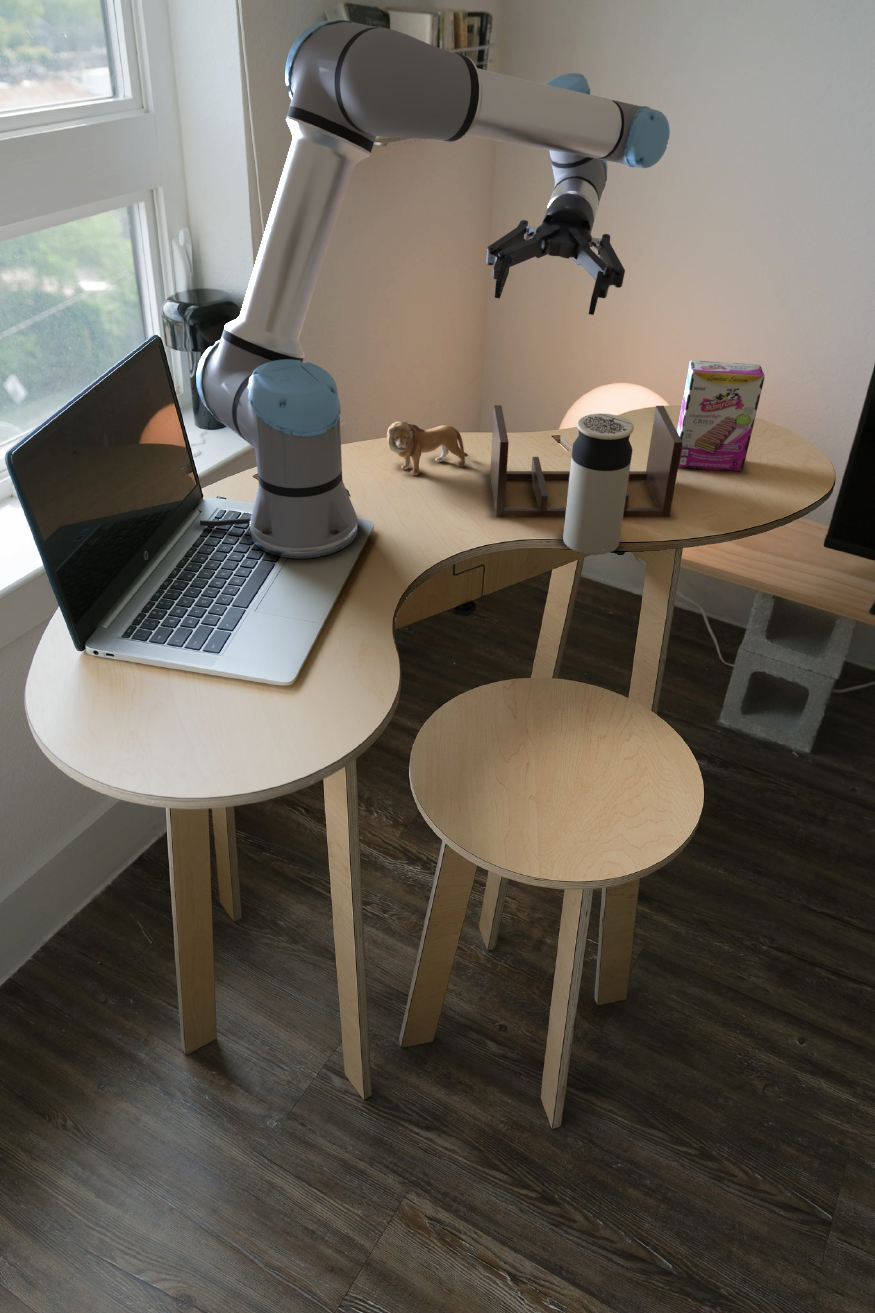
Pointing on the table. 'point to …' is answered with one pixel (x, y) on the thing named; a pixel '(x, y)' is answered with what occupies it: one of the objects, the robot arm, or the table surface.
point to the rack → (657, 472)
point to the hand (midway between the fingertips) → (544, 298)
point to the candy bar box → (718, 414)
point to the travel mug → (598, 484)
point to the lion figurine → (424, 443)
